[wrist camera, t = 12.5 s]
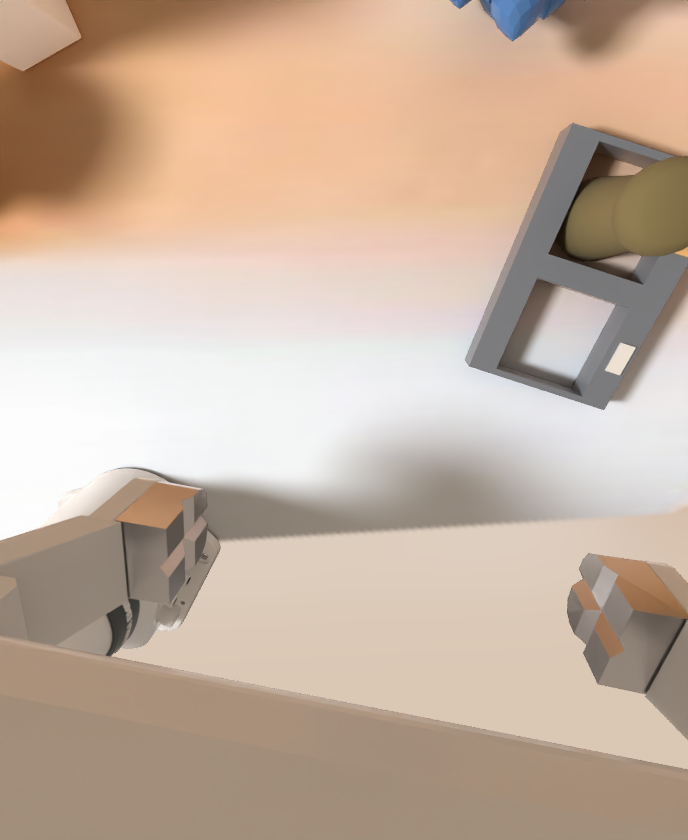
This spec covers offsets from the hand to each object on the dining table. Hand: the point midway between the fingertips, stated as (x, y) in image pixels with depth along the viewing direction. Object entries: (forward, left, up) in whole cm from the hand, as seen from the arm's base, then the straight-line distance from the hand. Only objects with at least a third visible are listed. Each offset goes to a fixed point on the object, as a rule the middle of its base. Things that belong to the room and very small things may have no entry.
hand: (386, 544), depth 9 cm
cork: (+12, -12, -31) cm, 36 cm away
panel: (+8, -13, -31) cm, 35 cm away
